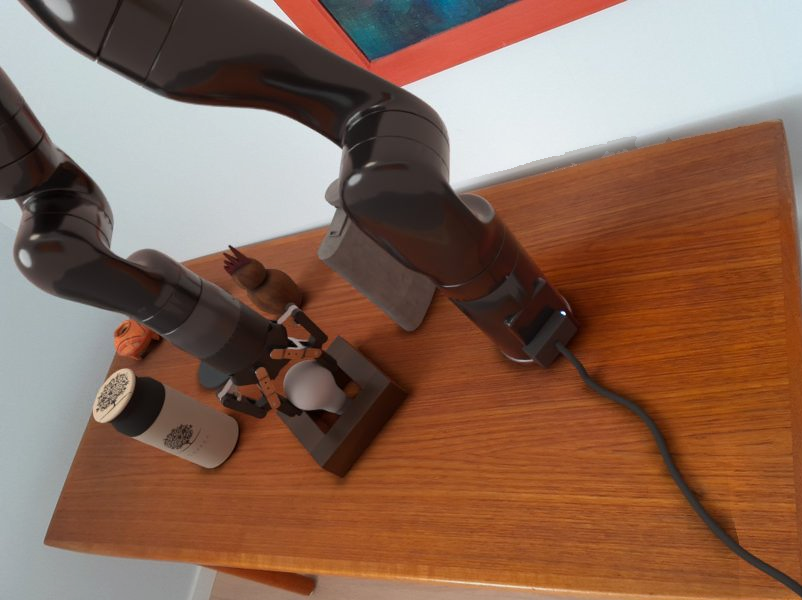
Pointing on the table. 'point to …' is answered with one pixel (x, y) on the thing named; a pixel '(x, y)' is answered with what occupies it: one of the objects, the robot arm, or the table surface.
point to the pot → (132, 339)
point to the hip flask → (374, 269)
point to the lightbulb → (314, 388)
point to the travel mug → (165, 418)
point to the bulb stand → (348, 412)
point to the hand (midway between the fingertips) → (316, 388)
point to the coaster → (211, 376)
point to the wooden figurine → (262, 283)
